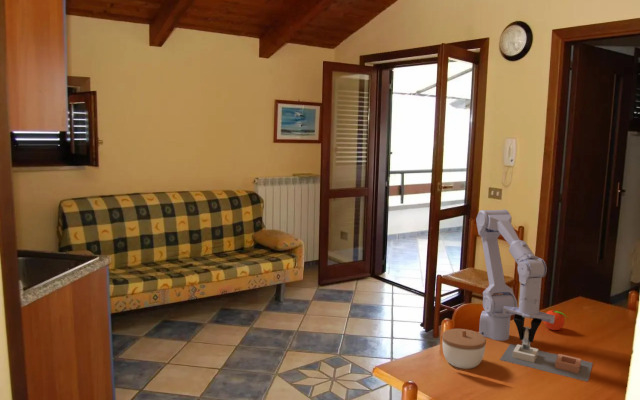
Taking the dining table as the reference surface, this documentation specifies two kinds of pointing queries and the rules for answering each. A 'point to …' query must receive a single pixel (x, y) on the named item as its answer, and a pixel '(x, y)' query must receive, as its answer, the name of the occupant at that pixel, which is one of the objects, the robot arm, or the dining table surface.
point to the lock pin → (526, 338)
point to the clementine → (557, 322)
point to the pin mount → (525, 353)
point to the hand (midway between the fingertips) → (526, 340)
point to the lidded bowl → (463, 347)
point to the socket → (568, 363)
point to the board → (548, 364)
